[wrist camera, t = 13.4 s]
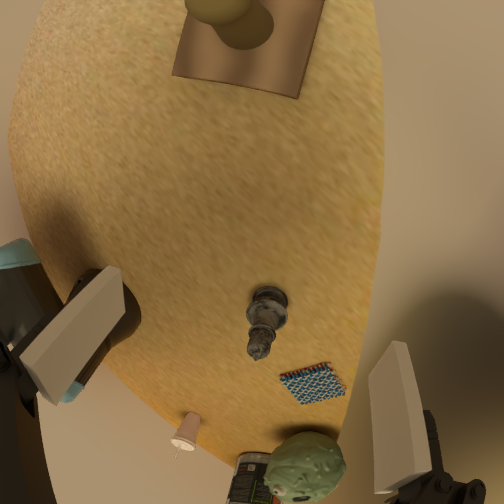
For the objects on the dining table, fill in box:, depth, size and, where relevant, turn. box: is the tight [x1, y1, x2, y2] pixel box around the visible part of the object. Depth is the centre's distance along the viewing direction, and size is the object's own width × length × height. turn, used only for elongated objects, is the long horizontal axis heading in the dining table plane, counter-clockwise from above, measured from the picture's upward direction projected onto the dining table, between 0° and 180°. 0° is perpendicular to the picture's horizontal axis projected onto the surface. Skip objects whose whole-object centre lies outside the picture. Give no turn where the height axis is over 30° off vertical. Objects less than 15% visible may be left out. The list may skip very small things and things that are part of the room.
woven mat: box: [279, 362, 347, 404], centre depth 50 cm, size 10×11×2 cm
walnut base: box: [172, 0, 325, 99], centre depth 25 cm, size 14×14×4 cm
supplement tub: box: [226, 453, 281, 504], centre depth 63 cm, size 16×16×26 cm
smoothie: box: [171, 412, 201, 458], centre depth 60 cm, size 6×6×14 cm
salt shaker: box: [246, 287, 288, 361], centre depth 38 cm, size 6×6×12 cm
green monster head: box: [263, 431, 346, 504], centre depth 52 cm, size 16×19×20 cm
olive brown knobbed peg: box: [185, 0, 274, 50], centre depth 18 cm, size 6×6×11 cm
